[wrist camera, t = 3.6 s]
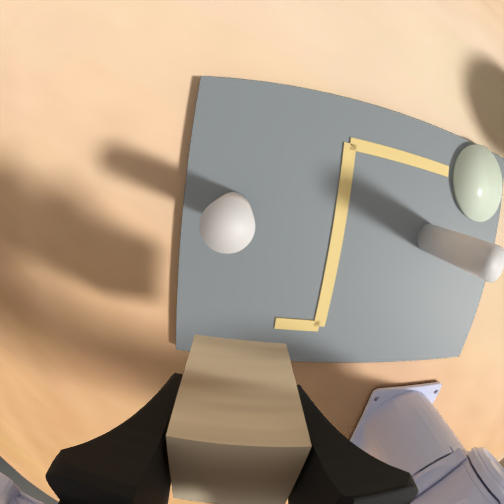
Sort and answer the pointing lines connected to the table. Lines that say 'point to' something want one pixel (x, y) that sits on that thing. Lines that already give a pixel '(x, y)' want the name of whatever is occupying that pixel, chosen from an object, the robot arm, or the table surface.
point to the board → (326, 228)
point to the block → (236, 424)
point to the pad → (477, 182)
